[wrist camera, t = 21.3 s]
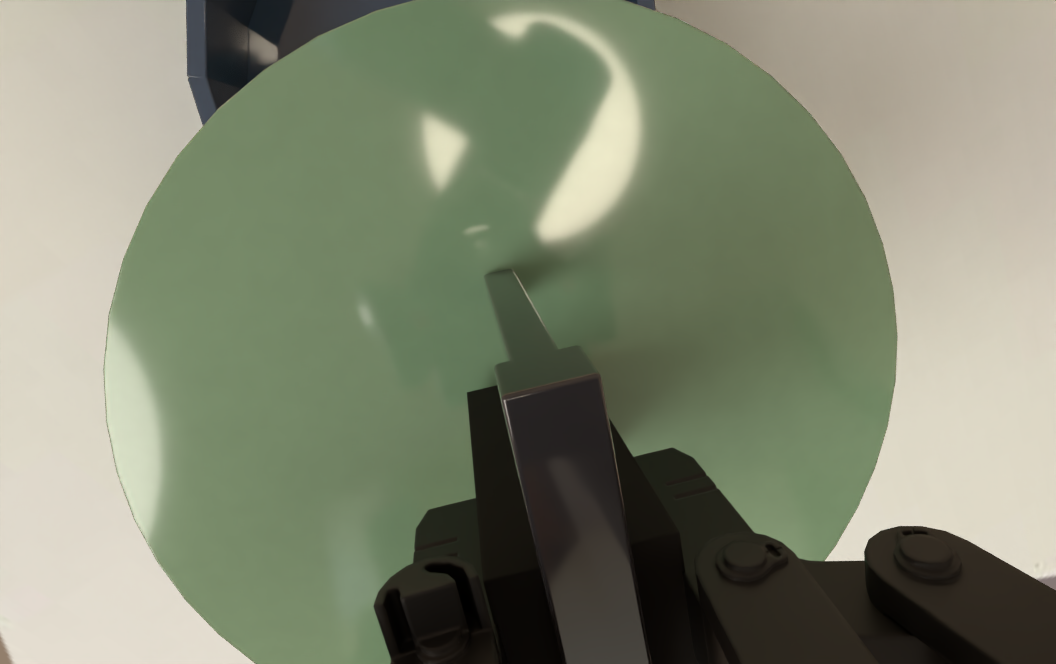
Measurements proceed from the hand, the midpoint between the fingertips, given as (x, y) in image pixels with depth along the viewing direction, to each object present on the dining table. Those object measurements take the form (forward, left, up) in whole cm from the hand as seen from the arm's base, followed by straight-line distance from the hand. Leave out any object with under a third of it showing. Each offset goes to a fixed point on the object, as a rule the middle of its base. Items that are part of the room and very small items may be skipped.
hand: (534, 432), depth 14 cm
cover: (0, 0, -1) cm, 1 cm away
